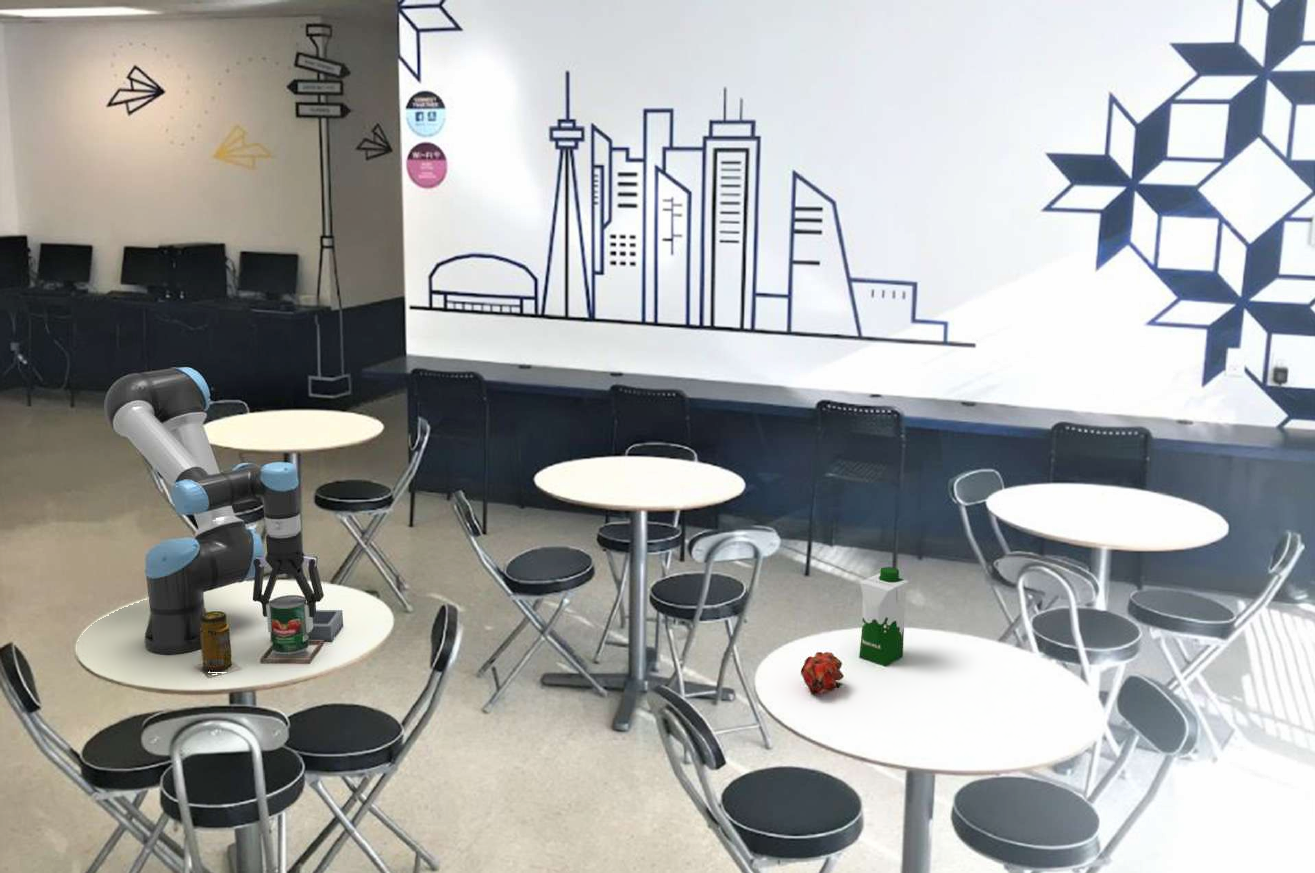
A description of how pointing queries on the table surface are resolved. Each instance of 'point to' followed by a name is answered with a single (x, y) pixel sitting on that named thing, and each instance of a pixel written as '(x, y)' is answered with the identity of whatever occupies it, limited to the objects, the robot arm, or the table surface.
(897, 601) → the milk carton
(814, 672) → the dragon fruit
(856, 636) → the table surface
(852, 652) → the table surface
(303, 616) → the canned tomato
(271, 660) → the wooden picture frame
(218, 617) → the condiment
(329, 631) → the bin
